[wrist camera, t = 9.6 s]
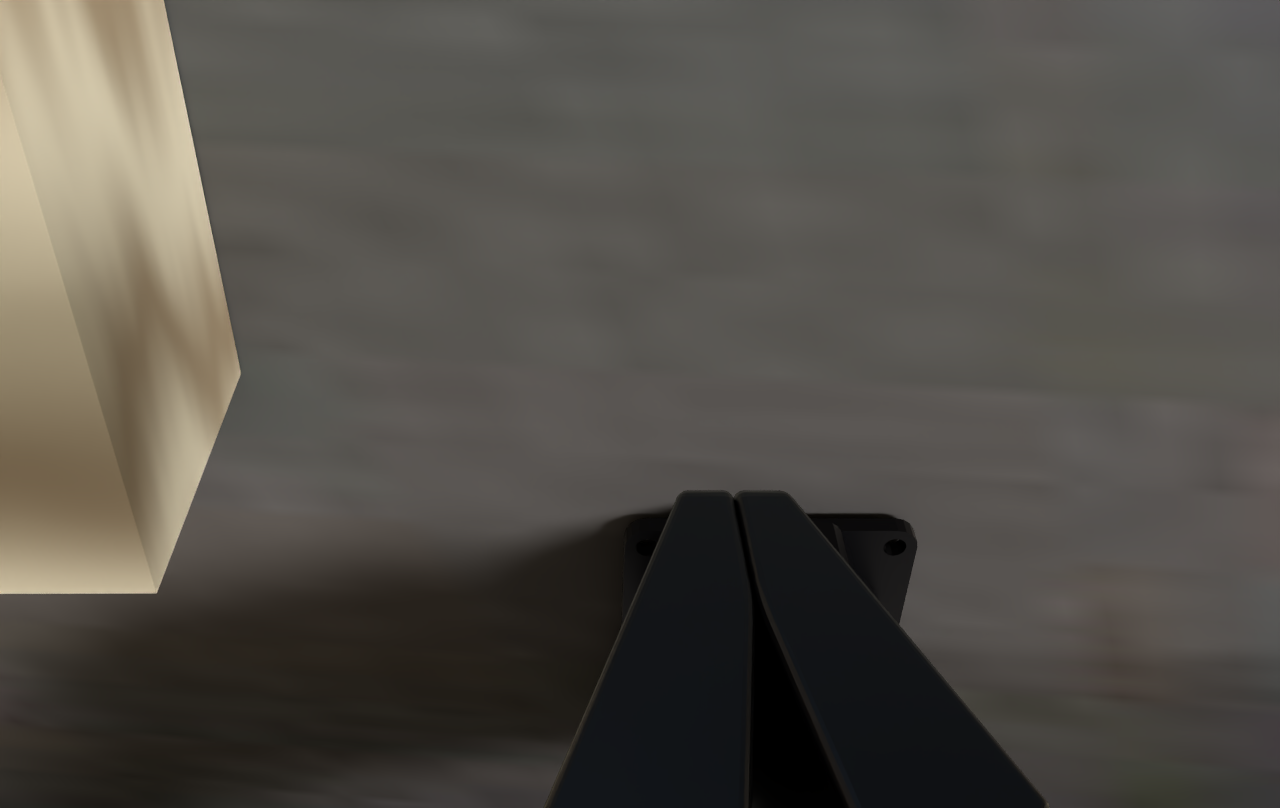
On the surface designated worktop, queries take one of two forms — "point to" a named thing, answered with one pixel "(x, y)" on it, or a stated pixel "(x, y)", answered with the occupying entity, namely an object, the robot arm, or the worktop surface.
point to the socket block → (101, 300)
